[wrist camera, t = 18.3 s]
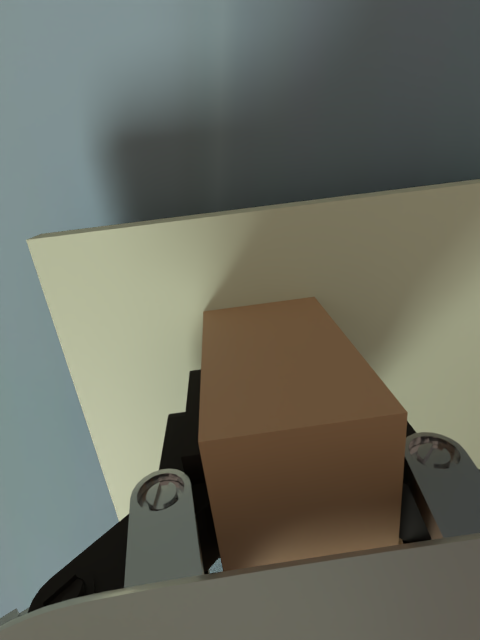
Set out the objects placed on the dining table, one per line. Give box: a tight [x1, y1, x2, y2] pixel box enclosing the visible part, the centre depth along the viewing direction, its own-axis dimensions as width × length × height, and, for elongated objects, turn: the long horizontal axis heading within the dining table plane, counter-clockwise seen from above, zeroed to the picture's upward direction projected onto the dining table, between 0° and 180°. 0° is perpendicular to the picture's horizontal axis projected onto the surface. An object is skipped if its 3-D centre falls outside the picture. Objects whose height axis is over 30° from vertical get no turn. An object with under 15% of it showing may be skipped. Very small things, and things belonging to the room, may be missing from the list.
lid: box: [26, 179, 480, 571], centre depth 11 cm, size 18×12×8 cm, turn 96°
